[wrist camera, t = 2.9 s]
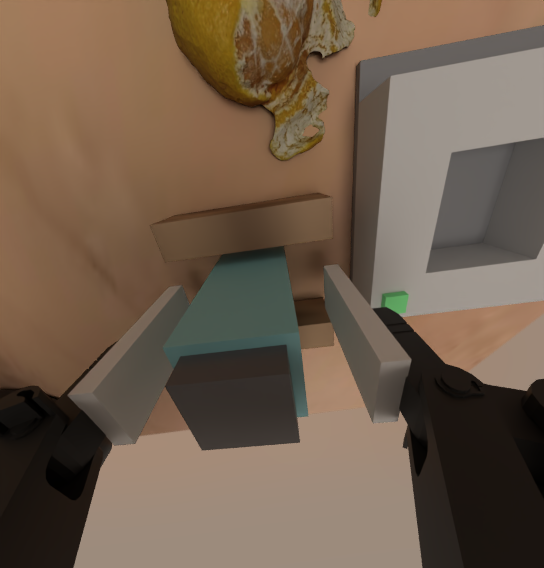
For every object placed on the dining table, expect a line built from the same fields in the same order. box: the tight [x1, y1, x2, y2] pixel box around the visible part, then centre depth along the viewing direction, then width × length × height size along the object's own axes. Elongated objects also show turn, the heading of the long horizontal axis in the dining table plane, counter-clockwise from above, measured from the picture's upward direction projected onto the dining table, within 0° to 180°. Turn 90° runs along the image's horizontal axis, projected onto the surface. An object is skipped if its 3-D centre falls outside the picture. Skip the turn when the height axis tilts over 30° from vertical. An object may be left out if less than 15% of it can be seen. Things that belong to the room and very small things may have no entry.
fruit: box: [166, 0, 382, 160], centre depth 8 cm, size 8×8×4 cm
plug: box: [163, 246, 308, 450], centre depth 10 cm, size 4×4×10 cm
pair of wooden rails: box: [150, 193, 334, 349], centre depth 13 cm, size 9×9×3 cm
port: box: [350, 25, 544, 317], centre depth 11 cm, size 11×14×4 cm
